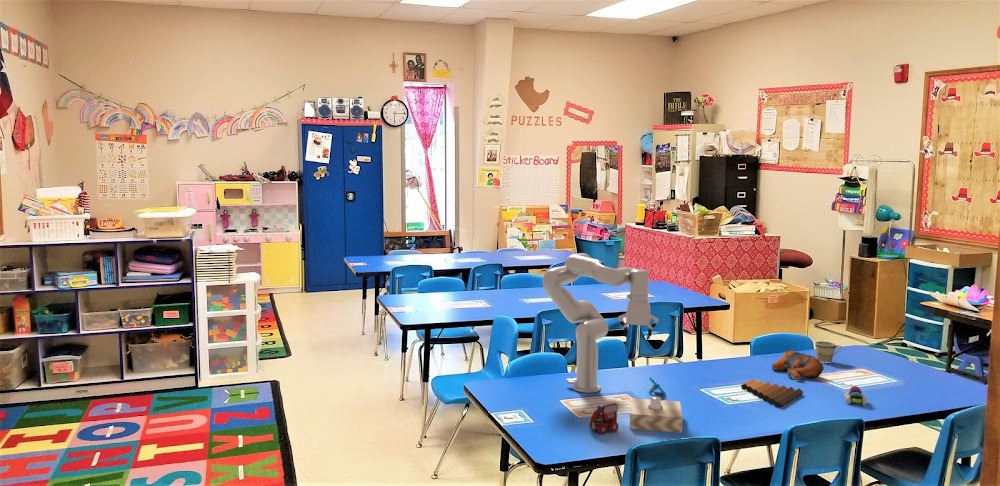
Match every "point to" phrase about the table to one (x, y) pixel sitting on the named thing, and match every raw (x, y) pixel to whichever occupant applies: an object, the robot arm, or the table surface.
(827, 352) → the ceramic cup
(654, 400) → the steel peg
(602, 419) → the toy fire truck
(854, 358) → the table surface
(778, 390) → the pan flute
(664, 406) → the hole block
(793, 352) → the orange lumpy piece
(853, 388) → the multicoloured small arched block
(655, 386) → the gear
